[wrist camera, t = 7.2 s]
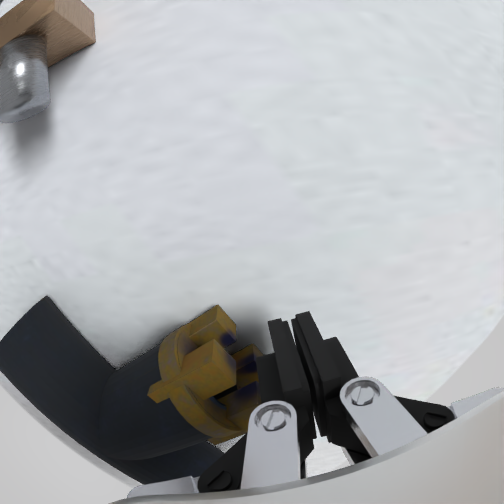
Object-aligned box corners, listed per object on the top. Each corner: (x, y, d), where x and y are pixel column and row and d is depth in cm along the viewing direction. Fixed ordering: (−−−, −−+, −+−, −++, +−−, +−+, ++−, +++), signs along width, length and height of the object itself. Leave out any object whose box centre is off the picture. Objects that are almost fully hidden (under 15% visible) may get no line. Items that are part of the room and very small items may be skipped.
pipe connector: (85, 235, 7) (335, 470, 11) (143, 203, 12) (315, 403, 16) (-20, 370, 9) (175, 512, 13) (26, 322, 14) (181, 457, 18)
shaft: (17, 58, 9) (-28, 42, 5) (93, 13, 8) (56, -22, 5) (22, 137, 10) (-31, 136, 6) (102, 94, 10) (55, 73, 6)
